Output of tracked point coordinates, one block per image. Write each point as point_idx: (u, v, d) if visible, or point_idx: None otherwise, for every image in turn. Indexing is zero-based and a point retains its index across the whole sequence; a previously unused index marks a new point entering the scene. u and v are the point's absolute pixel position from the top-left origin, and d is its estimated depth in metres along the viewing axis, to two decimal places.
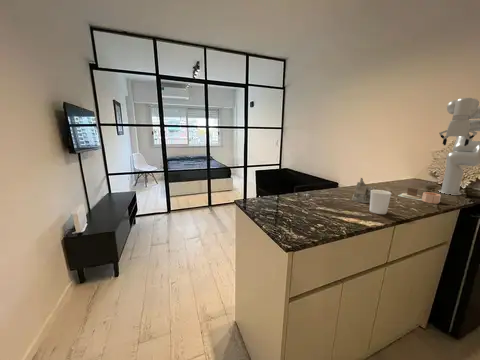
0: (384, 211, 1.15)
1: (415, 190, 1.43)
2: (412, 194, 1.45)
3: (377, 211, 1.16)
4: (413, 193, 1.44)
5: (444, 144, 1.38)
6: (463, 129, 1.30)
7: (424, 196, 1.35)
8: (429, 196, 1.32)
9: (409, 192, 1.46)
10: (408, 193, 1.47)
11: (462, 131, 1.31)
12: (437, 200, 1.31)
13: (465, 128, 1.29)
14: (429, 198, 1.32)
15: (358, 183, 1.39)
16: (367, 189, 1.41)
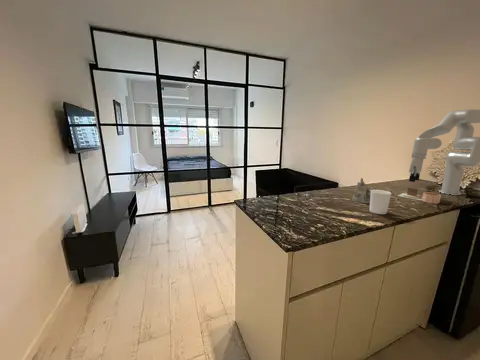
0: (384, 211, 1.15)
1: (415, 190, 1.43)
2: (412, 194, 1.45)
3: (377, 211, 1.16)
4: (413, 193, 1.44)
5: (414, 181, 1.40)
6: None
7: (424, 196, 1.35)
8: (429, 196, 1.32)
9: (409, 192, 1.46)
10: (408, 193, 1.47)
11: (421, 168, 1.42)
12: (437, 200, 1.31)
13: None
14: (429, 198, 1.32)
15: (358, 183, 1.38)
16: (367, 189, 1.41)
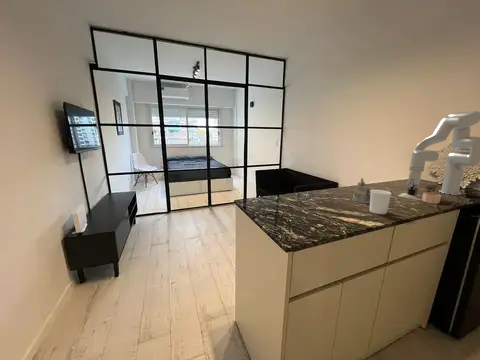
0: (384, 211, 1.15)
1: (415, 190, 1.43)
2: None
3: (377, 211, 1.16)
4: None
5: None
6: None
7: (424, 196, 1.35)
8: (429, 196, 1.32)
9: None
10: None
11: (419, 180, 1.44)
12: (437, 200, 1.31)
13: (420, 177, 1.44)
14: (429, 198, 1.32)
15: (359, 183, 1.38)
16: (368, 189, 1.40)
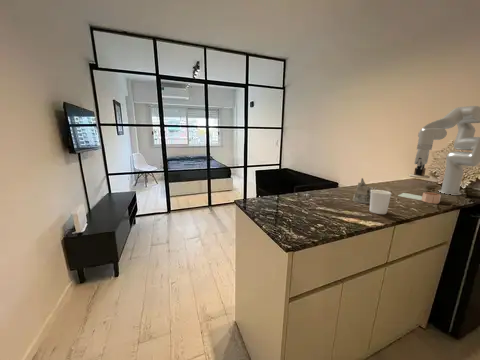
0: (384, 211, 1.15)
1: (422, 170, 1.38)
2: None
3: (377, 211, 1.16)
4: None
5: (421, 174, 1.39)
6: None
7: (424, 196, 1.35)
8: (429, 196, 1.32)
9: None
10: (415, 173, 1.41)
11: (427, 159, 1.38)
12: (437, 200, 1.31)
13: (428, 156, 1.39)
14: (429, 198, 1.32)
15: (359, 183, 1.37)
16: (368, 189, 1.40)
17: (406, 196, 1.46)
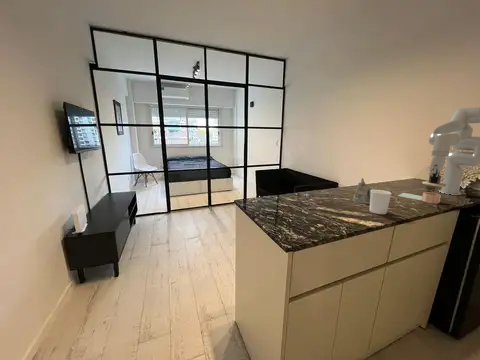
0: (384, 211, 1.15)
1: (438, 177, 1.29)
2: None
3: (377, 211, 1.16)
4: None
5: None
6: (443, 164, 1.30)
7: (424, 196, 1.35)
8: (429, 196, 1.32)
9: (430, 179, 1.32)
10: None
11: None
12: (437, 200, 1.31)
13: None
14: (429, 198, 1.32)
15: (359, 184, 1.37)
16: (368, 190, 1.40)
17: (406, 196, 1.46)
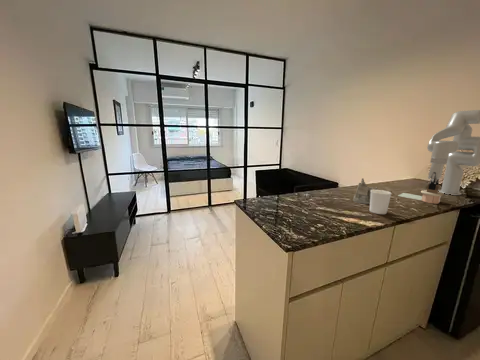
0: (384, 211, 1.15)
1: (436, 187, 1.31)
2: (433, 191, 1.32)
3: (377, 211, 1.16)
4: (434, 190, 1.32)
5: None
6: None
7: (424, 196, 1.35)
8: (429, 196, 1.32)
9: (429, 189, 1.34)
10: (428, 190, 1.34)
11: (441, 173, 1.31)
12: (437, 200, 1.31)
13: (442, 170, 1.31)
14: (429, 198, 1.32)
15: (360, 184, 1.37)
16: (368, 190, 1.39)
17: (406, 196, 1.46)
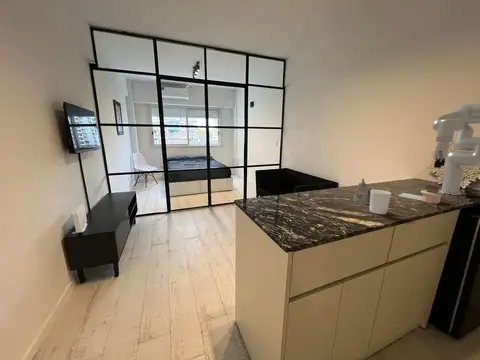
0: (384, 211, 1.15)
1: (436, 187, 1.31)
2: (433, 191, 1.32)
3: (377, 211, 1.16)
4: (434, 190, 1.32)
5: (440, 167, 1.28)
6: None
7: (424, 196, 1.35)
8: (429, 196, 1.32)
9: (429, 189, 1.34)
10: (428, 190, 1.34)
11: (447, 152, 1.30)
12: (437, 200, 1.31)
13: None
14: (429, 198, 1.32)
15: (360, 184, 1.36)
16: (369, 190, 1.39)
17: (406, 196, 1.46)
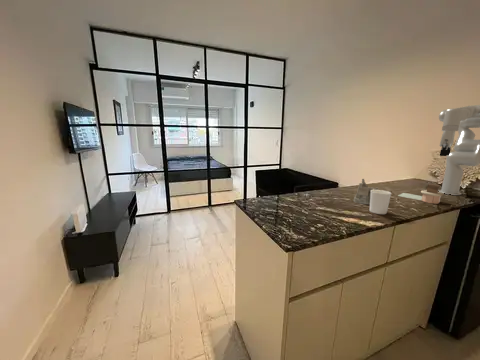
0: (384, 211, 1.15)
1: (436, 187, 1.31)
2: (433, 191, 1.32)
3: (377, 211, 1.16)
4: (434, 190, 1.32)
5: (446, 155, 1.32)
6: (453, 139, 1.33)
7: (424, 196, 1.35)
8: (429, 196, 1.32)
9: (429, 189, 1.34)
10: (428, 190, 1.34)
11: None
12: (437, 200, 1.31)
13: (453, 138, 1.34)
14: (429, 198, 1.32)
15: (360, 184, 1.36)
16: (369, 190, 1.39)
17: (406, 196, 1.46)
